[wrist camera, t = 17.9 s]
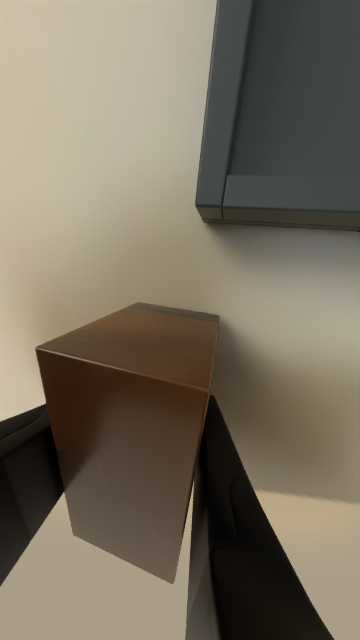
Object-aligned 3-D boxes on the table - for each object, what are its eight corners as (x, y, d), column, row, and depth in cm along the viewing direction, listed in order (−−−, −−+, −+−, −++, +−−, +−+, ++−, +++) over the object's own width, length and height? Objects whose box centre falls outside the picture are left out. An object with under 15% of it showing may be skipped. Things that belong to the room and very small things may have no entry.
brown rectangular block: (219, 315, 8) (210, 391, 3) (197, 442, 10) (173, 586, 6) (137, 301, 9) (33, 346, 4) (135, 423, 11) (71, 535, 7)
